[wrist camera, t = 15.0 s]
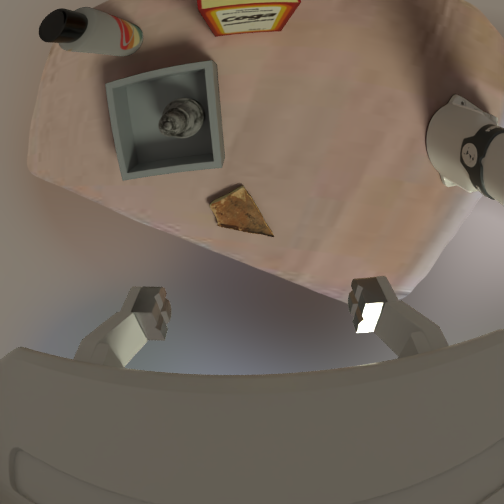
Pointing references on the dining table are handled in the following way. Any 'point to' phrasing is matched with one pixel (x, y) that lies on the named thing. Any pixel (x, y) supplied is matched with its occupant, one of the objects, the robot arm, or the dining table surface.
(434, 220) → the dining table surface
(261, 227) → the shard
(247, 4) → the baking soda box
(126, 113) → the box
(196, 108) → the stone chess piece
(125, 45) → the lotion bottle
